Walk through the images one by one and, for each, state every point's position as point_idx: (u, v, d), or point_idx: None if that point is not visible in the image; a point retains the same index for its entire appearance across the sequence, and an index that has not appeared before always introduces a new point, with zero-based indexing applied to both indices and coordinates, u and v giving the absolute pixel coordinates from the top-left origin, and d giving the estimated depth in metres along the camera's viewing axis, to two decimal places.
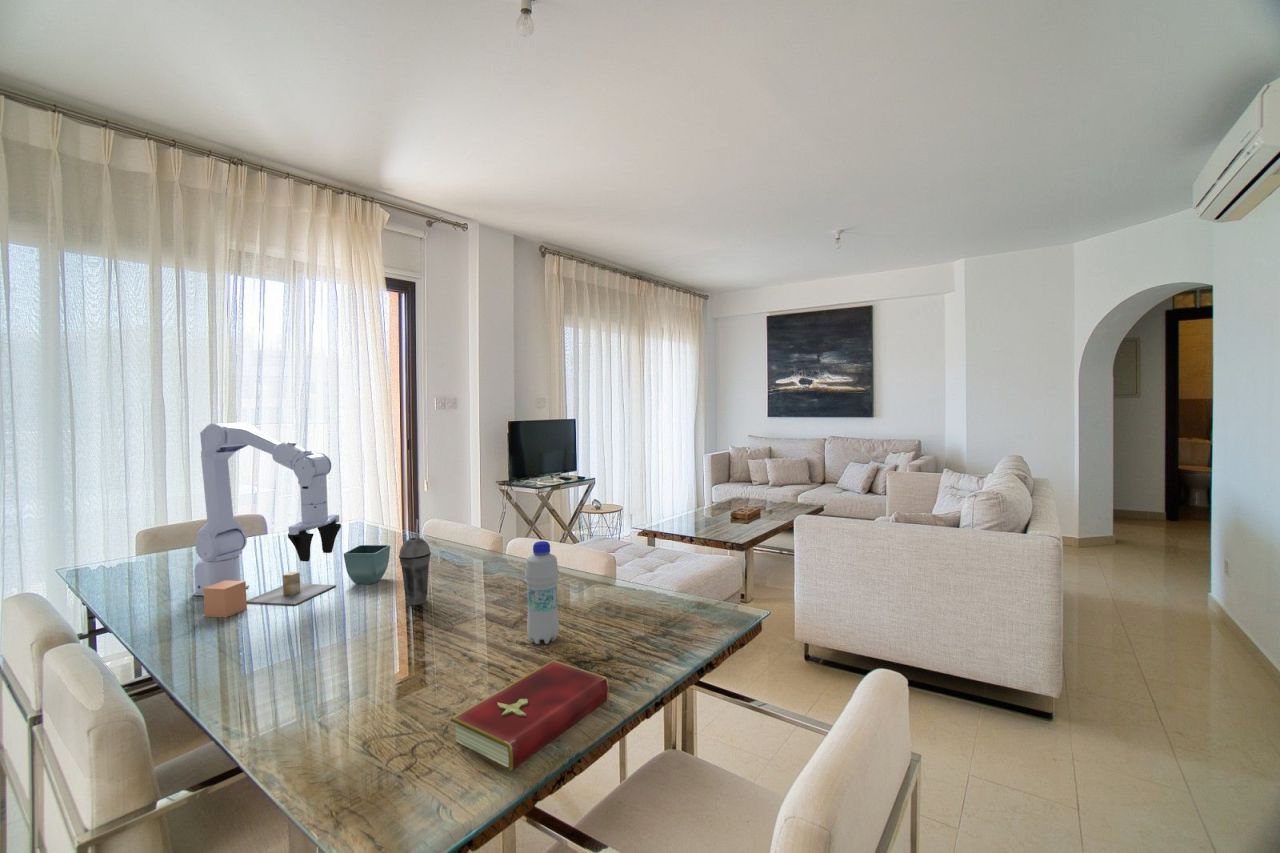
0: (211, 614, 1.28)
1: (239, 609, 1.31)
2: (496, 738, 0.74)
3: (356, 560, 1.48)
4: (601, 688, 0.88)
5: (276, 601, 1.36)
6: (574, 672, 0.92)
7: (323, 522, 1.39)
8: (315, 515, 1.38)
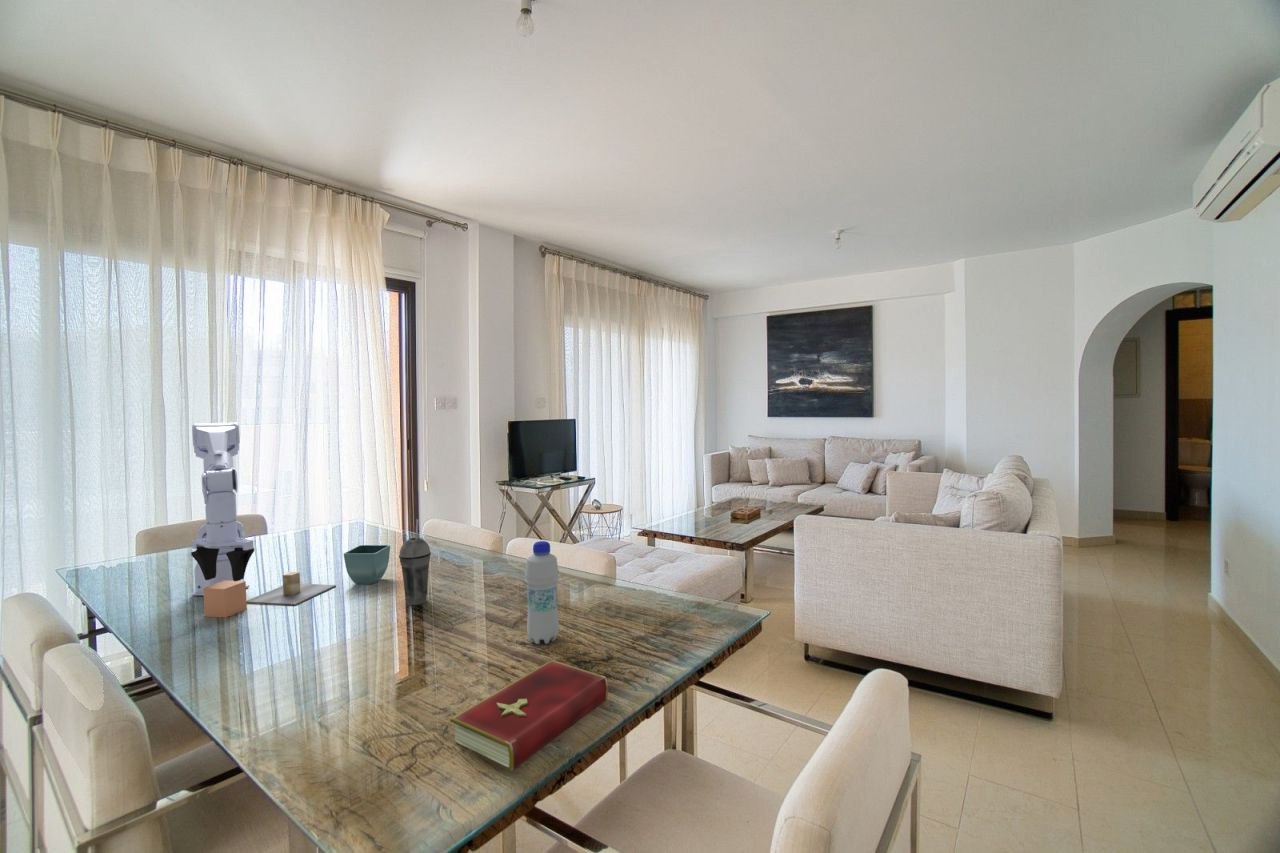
0: (211, 614, 1.28)
1: (239, 609, 1.31)
2: (496, 738, 0.74)
3: (356, 560, 1.48)
4: (600, 688, 0.88)
5: (276, 601, 1.36)
6: (573, 672, 0.92)
7: None
8: (206, 534, 1.28)
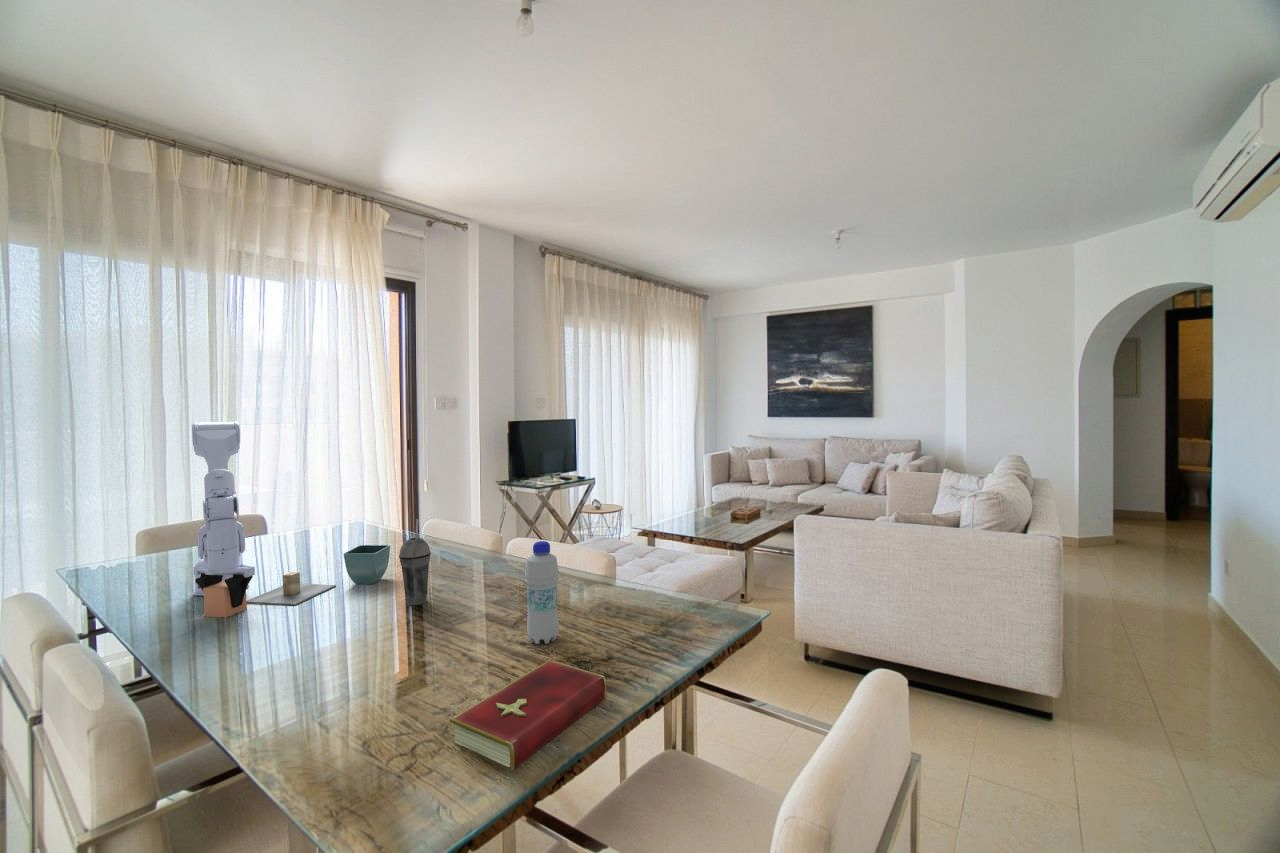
0: (211, 614, 1.28)
1: (239, 609, 1.31)
2: (497, 738, 0.74)
3: (356, 560, 1.48)
4: (599, 687, 0.89)
5: (276, 601, 1.36)
6: (571, 672, 0.92)
7: None
8: (208, 561, 1.28)
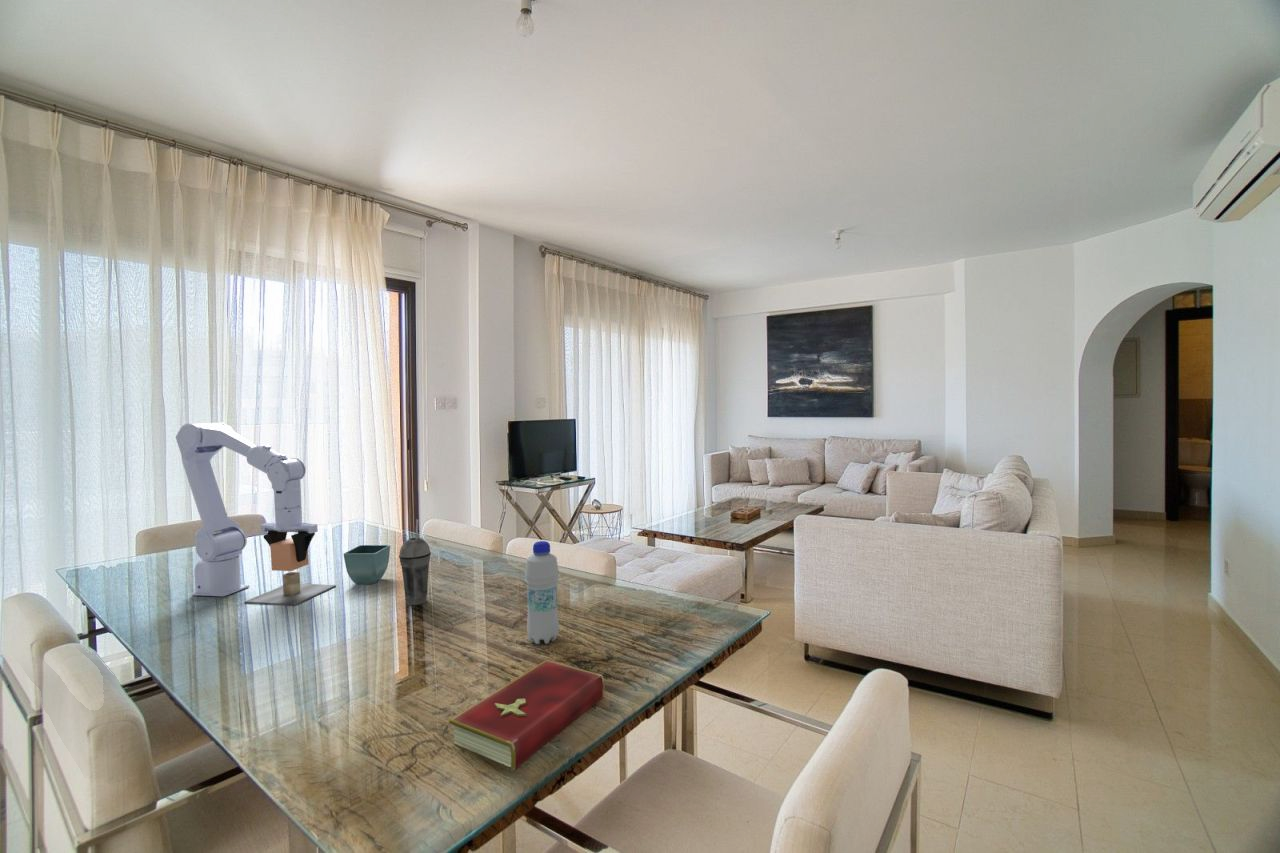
0: (278, 568, 1.39)
1: (302, 564, 1.42)
2: (498, 738, 0.74)
3: (356, 560, 1.48)
4: (597, 686, 0.89)
5: (276, 601, 1.36)
6: (569, 671, 0.92)
7: None
8: (275, 518, 1.40)
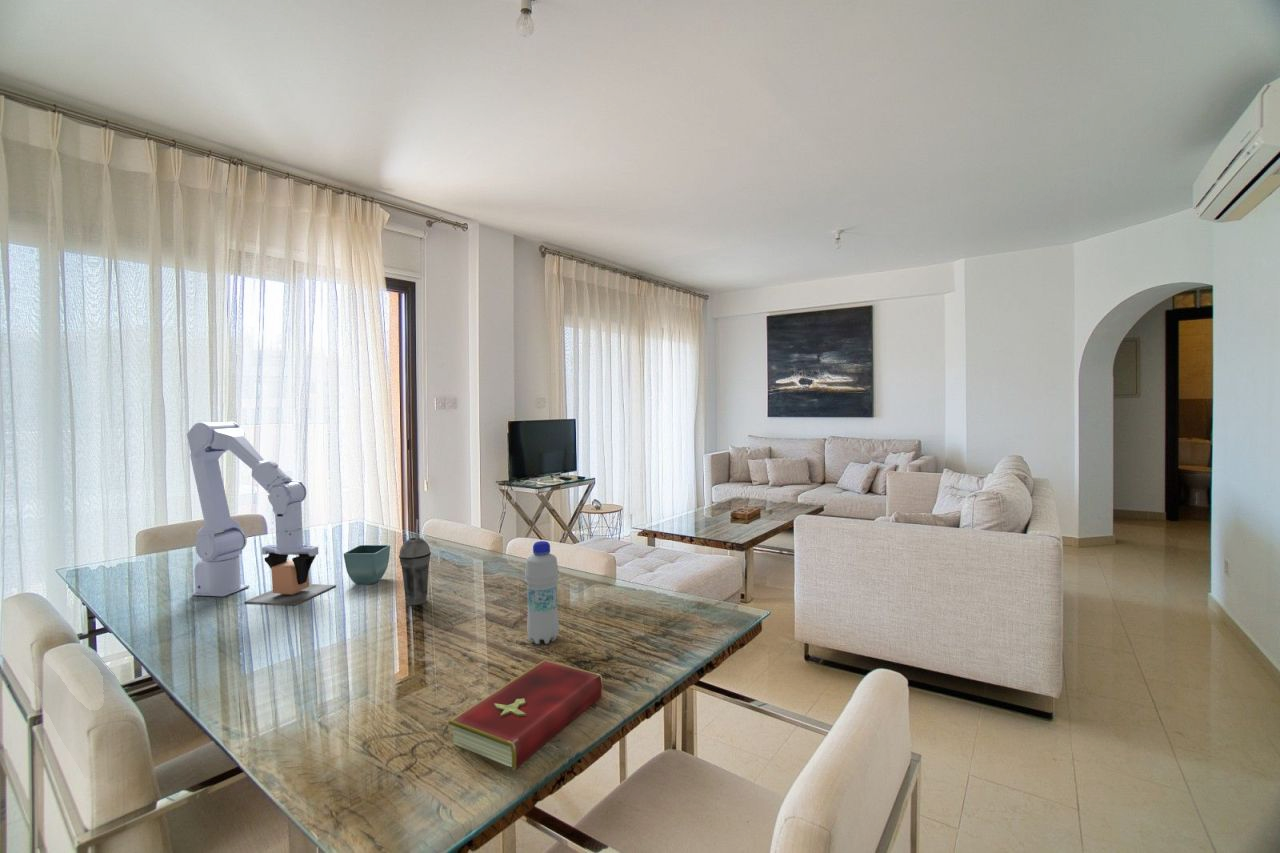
0: (279, 591, 1.40)
1: (303, 586, 1.43)
2: (498, 738, 0.74)
3: (356, 560, 1.48)
4: (596, 685, 0.89)
5: (276, 601, 1.36)
6: (567, 671, 0.92)
7: None
8: (276, 541, 1.40)
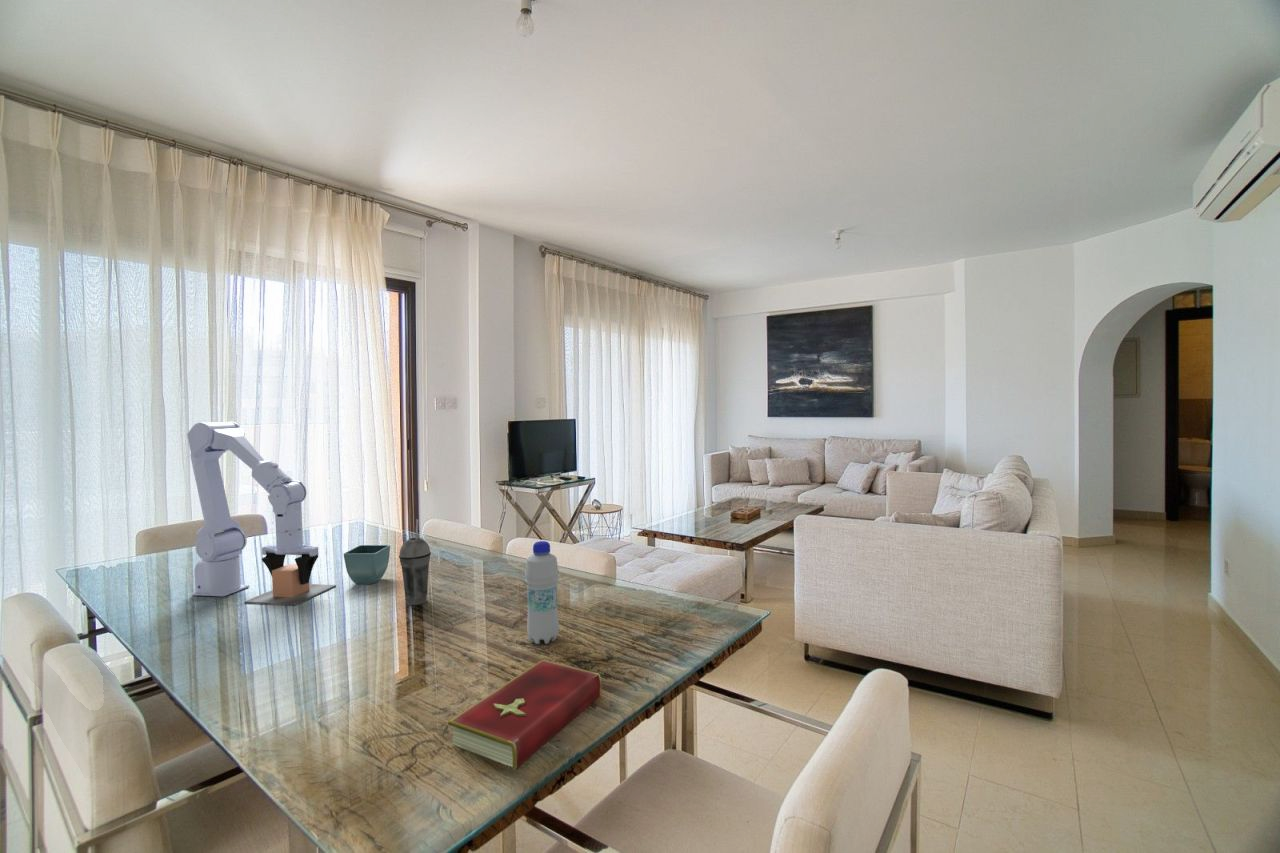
0: (279, 594, 1.40)
1: (303, 590, 1.43)
2: (499, 738, 0.74)
3: (356, 560, 1.48)
4: (595, 685, 0.89)
5: (276, 601, 1.36)
6: (566, 670, 0.92)
7: None
8: (276, 541, 1.40)
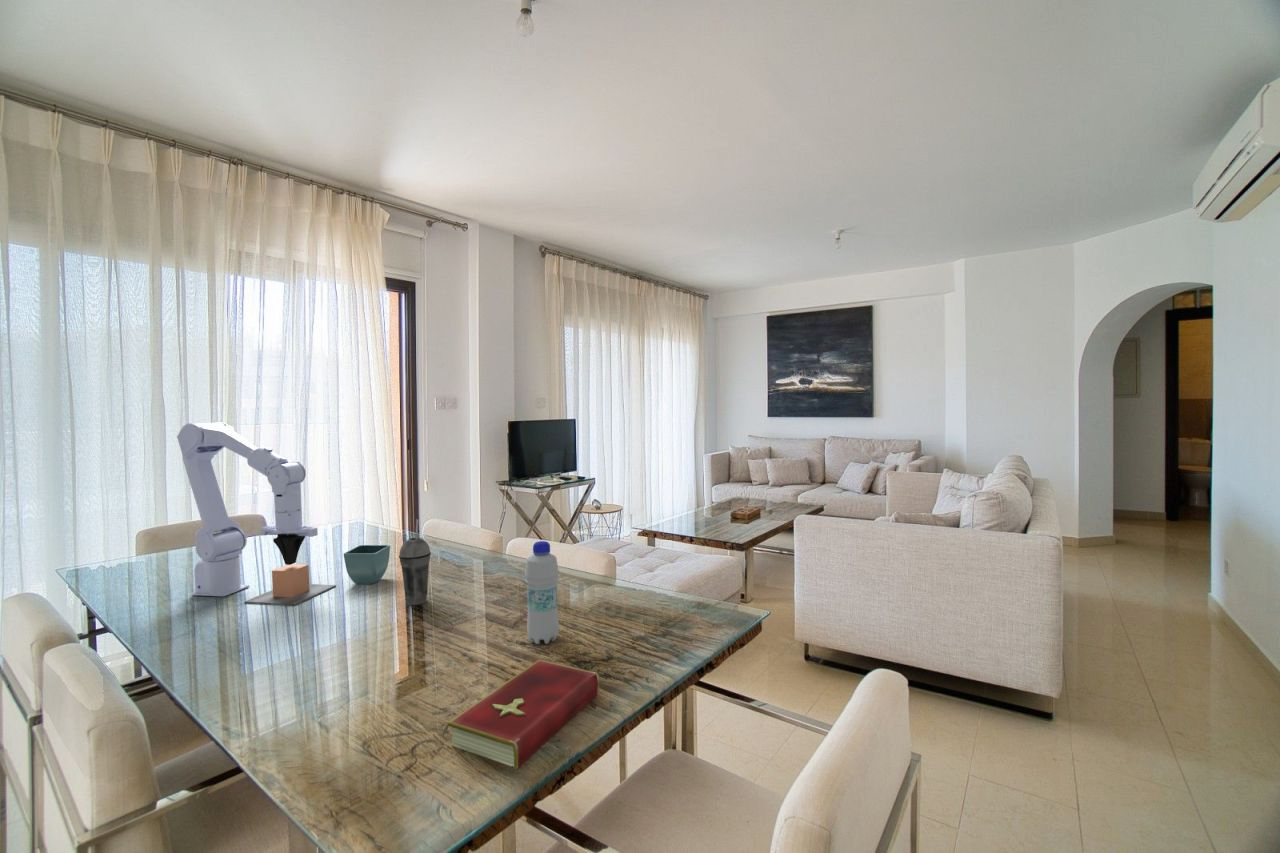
0: (279, 594, 1.40)
1: (303, 590, 1.43)
2: (500, 738, 0.74)
3: (356, 560, 1.48)
4: (593, 684, 0.90)
5: (276, 601, 1.36)
6: (563, 670, 0.92)
7: None
8: (275, 522, 1.40)
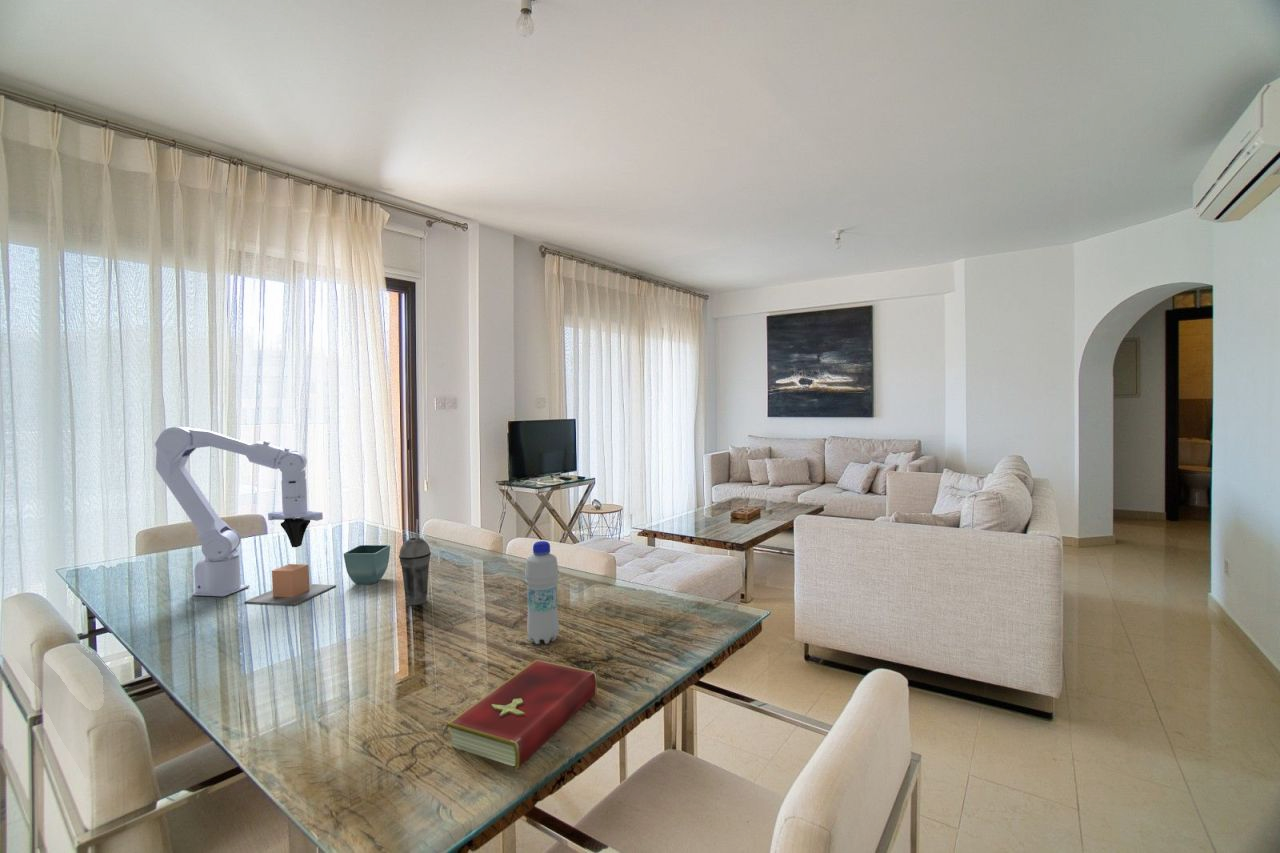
0: (279, 594, 1.40)
1: (303, 590, 1.43)
2: (500, 738, 0.74)
3: (356, 560, 1.48)
4: (591, 683, 0.90)
5: (276, 601, 1.36)
6: (561, 670, 0.93)
7: None
8: (282, 507, 1.50)
